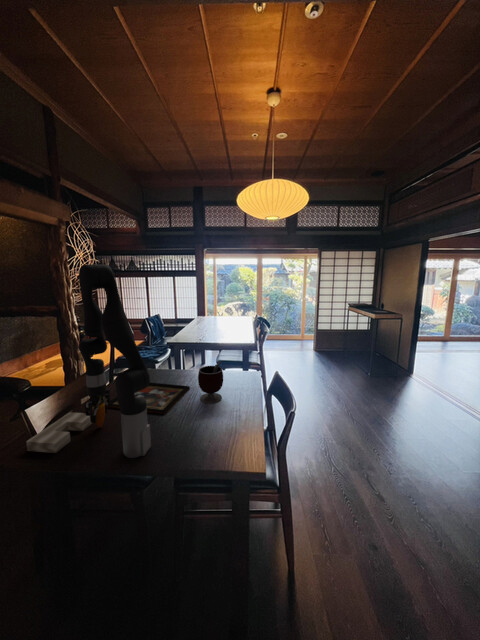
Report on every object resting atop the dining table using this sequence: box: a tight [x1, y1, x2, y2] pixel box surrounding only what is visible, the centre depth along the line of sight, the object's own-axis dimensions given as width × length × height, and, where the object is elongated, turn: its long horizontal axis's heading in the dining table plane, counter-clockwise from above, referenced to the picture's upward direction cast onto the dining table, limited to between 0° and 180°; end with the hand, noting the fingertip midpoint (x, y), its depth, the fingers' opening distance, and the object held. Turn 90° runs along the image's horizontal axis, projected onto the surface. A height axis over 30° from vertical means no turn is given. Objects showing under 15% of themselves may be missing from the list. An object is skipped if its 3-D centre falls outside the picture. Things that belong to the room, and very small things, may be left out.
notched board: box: [26, 412, 93, 454], centre depth 109 cm, size 12×22×4 cm, turn 174°
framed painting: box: [107, 382, 190, 415], centre depth 144 cm, size 38×35×3 cm
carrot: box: [92, 396, 106, 429], centre depth 114 cm, size 5×5×15 cm
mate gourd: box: [197, 360, 224, 405], centre depth 142 cm, size 16×14×20 cm
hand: (99, 417), depth 114 cm, fingers open, 7 cm apart
